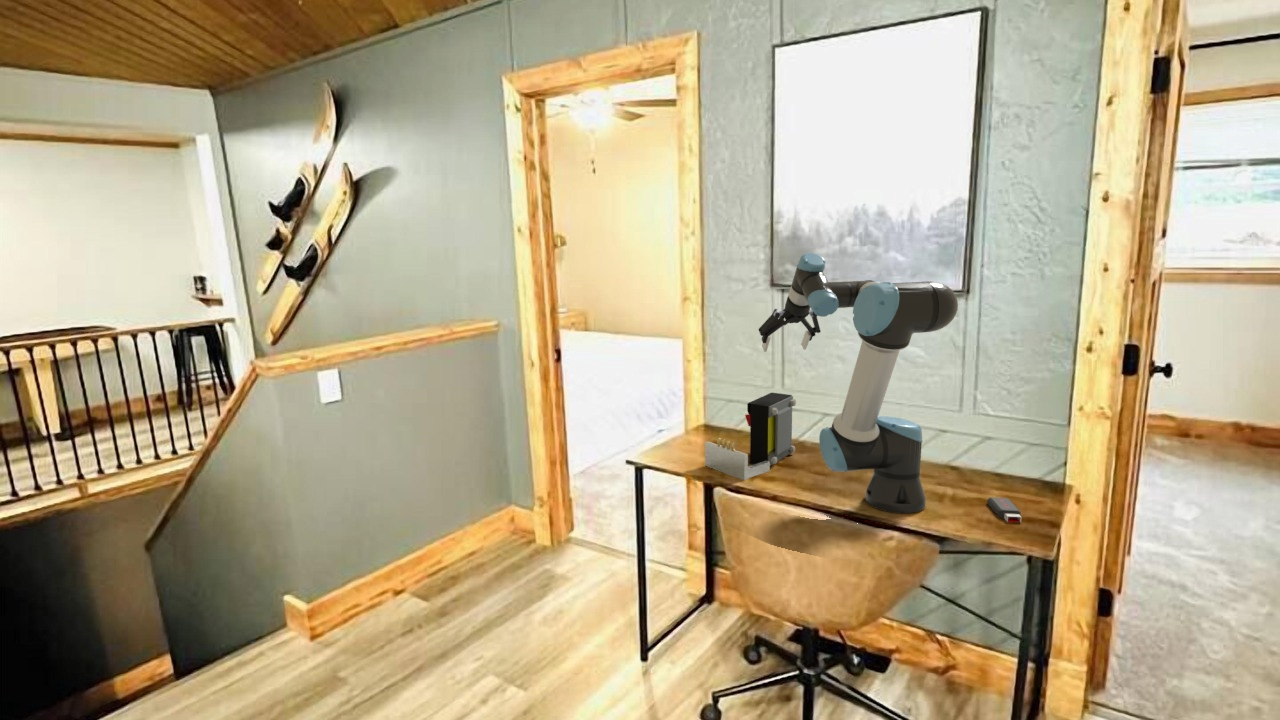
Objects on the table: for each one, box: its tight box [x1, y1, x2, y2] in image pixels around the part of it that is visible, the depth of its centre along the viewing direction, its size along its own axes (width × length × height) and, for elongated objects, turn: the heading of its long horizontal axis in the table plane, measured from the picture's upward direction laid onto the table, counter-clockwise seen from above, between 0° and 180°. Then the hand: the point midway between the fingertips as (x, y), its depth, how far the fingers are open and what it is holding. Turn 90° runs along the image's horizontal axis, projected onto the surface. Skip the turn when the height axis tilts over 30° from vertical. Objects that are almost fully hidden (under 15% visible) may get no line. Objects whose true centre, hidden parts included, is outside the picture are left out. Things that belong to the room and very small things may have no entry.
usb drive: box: [986, 497, 1022, 524], centre depth 169 cm, size 5×12×3 cm, turn 169°
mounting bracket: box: [704, 437, 771, 481], centre depth 205 cm, size 17×12×10 cm
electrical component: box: [744, 392, 797, 467], centre depth 214 cm, size 18×10×20 cm, turn 143°
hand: (783, 347), depth 215 cm, fingers open, 13 cm apart
